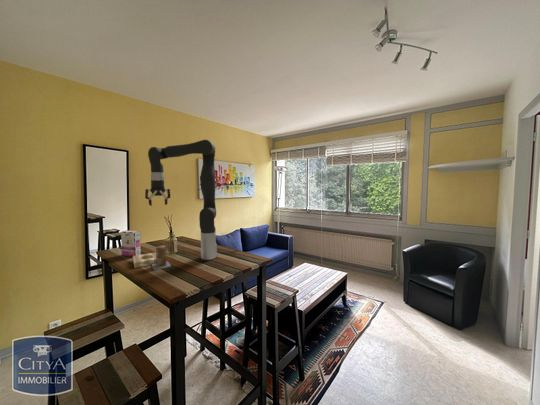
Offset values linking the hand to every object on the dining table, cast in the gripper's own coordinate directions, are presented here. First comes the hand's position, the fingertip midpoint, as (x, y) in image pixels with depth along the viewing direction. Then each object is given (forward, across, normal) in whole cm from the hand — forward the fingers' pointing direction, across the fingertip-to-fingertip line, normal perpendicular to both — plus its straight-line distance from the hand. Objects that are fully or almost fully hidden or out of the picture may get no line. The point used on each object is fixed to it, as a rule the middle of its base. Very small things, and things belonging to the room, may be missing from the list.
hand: (158, 205), depth 142 cm
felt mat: (+34, +2, +17) cm, 38 cm away
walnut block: (+34, +2, +17) cm, 38 cm away
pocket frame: (+34, +8, +5) cm, 35 cm away
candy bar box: (+34, +15, -14) cm, 40 cm away
